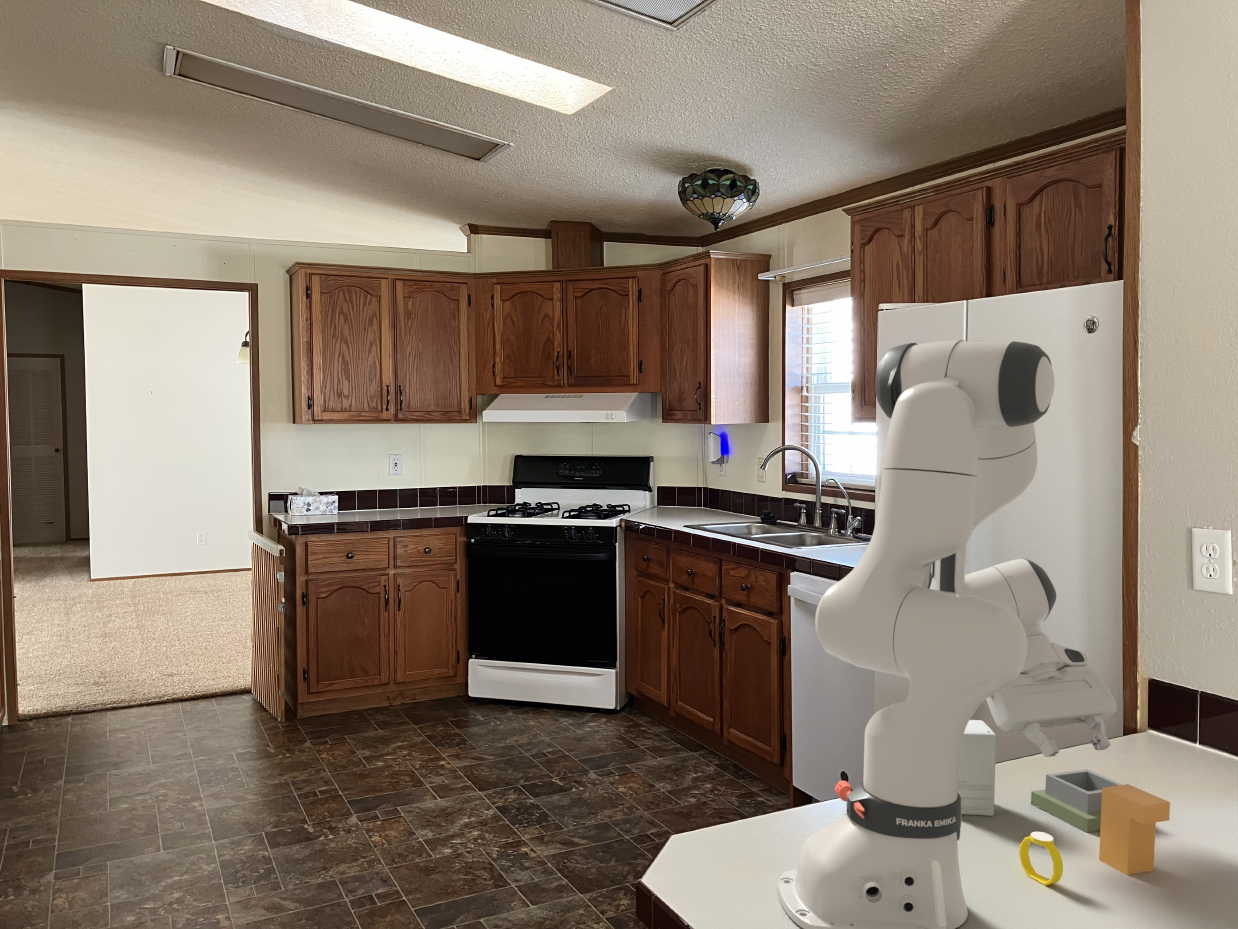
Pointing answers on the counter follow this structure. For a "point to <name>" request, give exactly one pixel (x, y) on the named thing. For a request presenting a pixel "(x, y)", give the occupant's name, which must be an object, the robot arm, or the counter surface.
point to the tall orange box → (1130, 827)
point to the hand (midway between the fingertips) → (1078, 751)
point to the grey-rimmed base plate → (1074, 797)
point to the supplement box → (977, 769)
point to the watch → (1048, 842)
